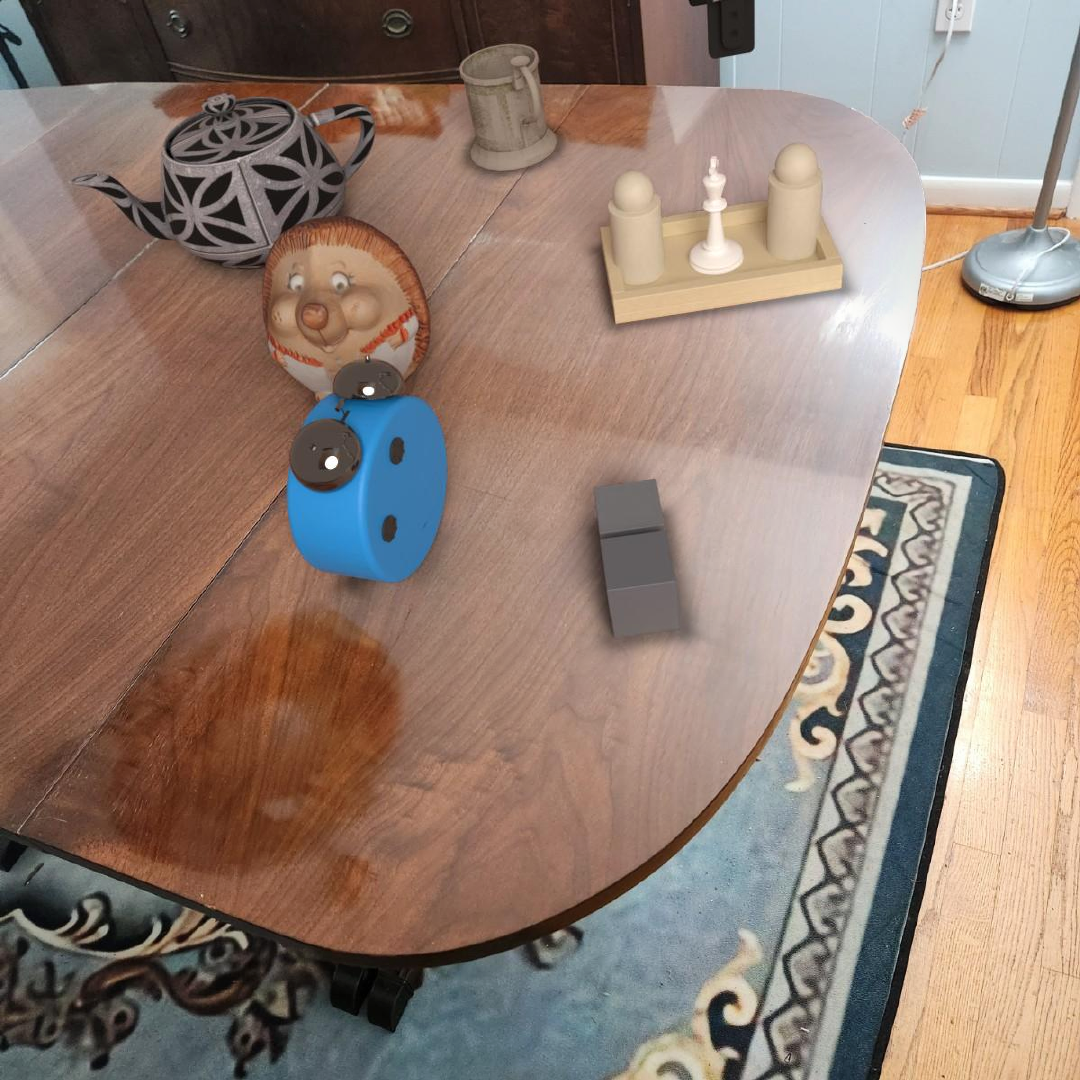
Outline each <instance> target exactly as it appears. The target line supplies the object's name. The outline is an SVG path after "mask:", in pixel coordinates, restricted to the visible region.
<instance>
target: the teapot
mask: <svg viewBox="0 0 1080 1080" xmlns="http://www.w3.org/2000/svg"><path fill="white" fill-rule="evenodd" d="M201 109H202V110H200V111H198V112H195V113H194V114H192V115H190V116H188V117H187V118H185V119H184V120H182V121H181V122H180V123H178V124H177V125H175V127H173V128H172V129H171V130H170V132H168V133H167V135H166V137H165V138H164V140H163V142H162V145H161V154H160V155H161V156H160V193H161V200H159V201H147V200H144V199H141V198H139V197H137V196H136V195H134V194H133V193H132V192H131V191H130V190H129V189H128V188H127V187H126V186H124V185H123V184H122V183H121V181H120V180H118V179H116V178H115V177H113V176H111V175H109V174H107V173H103V172H90V173H86V174H83V175H80V176H77V177H74V178H72V179H70V180H69V181H68V184H69V185H72V186H78V187H85V188H86V187H87V188H90V189H93V190H96V191H98V192H100V193H101V194H103V195H104V196H105V197H106V198H109V199H110V201H112V203H114V204H115V206H116V207H117V208H118V209H119V210H120V211H121V212H122V213H123V215H125V217H126V218H127V219H128V220H129V221H130V222H131V223H132V224H133V226H135V227H136V228H137V229H138V230H140V231H141V232H142V233H144V234H146V235H148V236H150V237H153V238H155V239H159V240H163V241H176V242H177V244H178V245H180V247H181V248H183V249H184V250H185V251H186V252H188V253H189V254H191V255H193V256H195V257H196V258H198V259H201V260H204V261H206V262H210V263H212V264H217V265H220V266H223V267H226V268H232V269H241V270H242V269H245V270H246V269H256V268H263V267H265V264H266V261H267V257H268V255H269V252H270V250H271V248H272V246H273V244H274V242H275V241H276V240H277V239H278V237H279V236H280V235H281V234H282V233H283V232H285V231H287V230H288V229H290V228H292V227H293V226H295V225H296V224H299V223H301V222H304V221H307V220H310V219H314V218H321V217H327V216H339V214H340V212H341V210H342V208H343V206H344V202H345V201H346V200H345V199H346V193H347V184H346V183H347V182H348V181H349V180H351V178H352V177H353V176H354V175H355V174H356V173H357V172H358V171H359V169H360V168H361V167H362V166H363V164H364V163H365V161H366V160H367V158H368V157H369V155H370V152H371V150H372V148H373V145H374V141H375V137H376V122H375V117H374V115H373V113H372V112H371V110H370V109H369V107H367V106H366V105H363V104H361V103H346V104H339V105H336V106H332V107H327V108H325V109H321V110H318V111H315V112H312V113H308V114H306V115H303V114H302V113H301V111H300V110H299V109H298V108H297V107H295V106H294V104H292V103H290V102H289V101H287V100H285V99H281V98H277V97H271V96H250V97H243V98H237V97H236V96H235V95H234V94H232V93H228V92H227V93H218V94H215V95H212V96H210V97H208V98H207V99H205V100H204V101H203V102H202V104H201ZM345 119H357V120H359V123H360V132H359V138H358V142H357V145H356V147H355V149H354V151H353V152H352V155H351V156H350V157H349V159H348V160H347V161H346V162H345V163H344V164H343V166H342V165H341V164H340V163H341V162H340V161H339V159H338V157H337V156H336V154H335V152H334V151H333V149H332V148H331V147H330V145H329V144H328V142H327V141H326V140H325V138H324V137H323V135H322V134H321V133H320V132H319V131H318V129H316V128H318V127H321V126H324V125H327V124H330V123H334V122H337V121H341V120H345Z"/></svg>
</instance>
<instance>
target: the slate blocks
mask: <svg viewBox="0 0 1080 1080" xmlns="http://www.w3.org/2000/svg"><path fill="white" fill-rule="evenodd" d="M593 493H594V502H595V509H596V516H597V524H598V526H597V527H598V532H599V542H600V550H601V551H600V552H601V558H602V565H603V572H604V573H603V574H604V582H605V589H606V596H607V602H608V608H609V614H610V621H611V627H612V631H613V638H614V639H618V638H624V637H625V638H626V637H633V636H641V635H647V634H649V635H650V634H655V633H662V632H671V631H676V630H677V631H678V630H680V616H679V615H680V614H679V604H678V593H677V592H678V589H677V579H676V575H675V570H674V569H675V568H674V563H673V558H672V553H671V548H670V547H671V546H670V543H669V537H668V531H667V530H666V528H665V527H666V526H665V520H664V515H663V509H662V503H661V499H660V494H659V489H658V483H657V478H650V479H644V480H643V479H642V480H636V481H630V482H623V483H615V484H609V485H602V486H595V487H593Z"/></svg>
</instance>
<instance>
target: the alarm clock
mask: <svg viewBox="0 0 1080 1080" xmlns="http://www.w3.org/2000/svg"><path fill="white" fill-rule="evenodd" d="M405 392H406V380H405V381H404V378H403V376H402V374H401V373H400V371H399V370H398V369H397V368H396V367H395V366H393V365H392V364H390V363H388V362H386V361H383V360H380V359H375V358H370V355H365V358H363V359H357V360H354V361H351V362H349V363H347V364H346V365H344V366H343V367H342V368H341V369H340V370H339V371H338V372H337V373H336V375H335V377H334V380H333V393H331V394H329V395H327V396H326V397H324V398H323V399H322V400H321V401H320V402H317V403H316V405H315V406H314V407H313V408H312V409H311V410H310V412H309V413H308V415H307V416H306V418H305V420H304V422H302V423H303V424H302V425H301V427H300V429H299V430H298V432H297V433H296V435H295V436H294V437H293V439H292V442H291V443H290V447H289V451H288V464H289V466H288V471H287V481H286V508H287V510H286V511H287V519H288V524H289V529H290V531H291V532H290V533H291V537H292V539H293V542H294V544H295V546H296V549H297V550H298V552H299V554H300V555H301V556H302V558H303V559H304V560H305V561H306V562H307V563H308V565H310V566H311V567H312V568H314V569H316V570H318V571H320V572H324V573H328V574H335V575H340V576H346V577H351V579H356V578H358V579H363V580H369V581H374V582H375V581H376V582H382V583H387V584H394V583H399V582H403V581H404V580H406V579H408V578H409V577H410V576H412V575H413V574H414V573H415V572H416V571H417V570H418V569H419V568H420V566H421V565H422V564H423V562H424V560H425V559H426V557H427V555H428V554H429V552H430V550H431V548H432V546H433V544H434V541H435V539H436V536H437V535H438V534H437V533H438V531H439V528H440V524H441V521H442V517H443V513H444V507H445V503H446V495H447V486H448V485H447V484H448V457H447V454H448V453H447V447H446V441H445V437H444V436H445V435H444V432H443V429H442V425H441V422H440V420H439V418H438V416H437V414H436V412H435V411H434V410H433V408H432V406H430V405H429V403H427V402H426V400H424V399H422V398H420V397H418V396H414V395H407V394H404V393H405Z"/></svg>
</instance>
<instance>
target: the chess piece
mask: <svg viewBox="0 0 1080 1080" xmlns="http://www.w3.org/2000/svg"><path fill="white" fill-rule="evenodd" d="M719 165H720V159H718V156H717V155H711V157H710V166H709V169H708V174H706V175H704V177H703V178H702V181H701V182H702V185H703V188H704V190H705V193H706V195H707V198H706V199H704V200H703V202H702V209H703V210H706V211H709V223H708V232H707V239H706V240H704V241H701V242H699V243H698V244H696V245H695V246H694V247H693V248H692V249H691V251H690V257H689V264H690V266H691V267H692V268H693V269H694V270H695V271H697V272H699V273H702V274H707V275H719V274H725V273H728V272H731V271H733V270H735V269H736V268H738V267H739V266H740V265H741V263H742V262H743V251H742V248H741V246H740V245H739V244H738V243H737V242H735V241H733V240H731V239H727V238H725V237H724V231H723V225H722V218H721V210H723V209H725V208H726V207H728V202H727V199H726V198H724V197H722V194H723V191H724V188H725V185H726V183H727V177H726V175H724V174H723V173H721V172H718V167H719Z"/></svg>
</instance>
